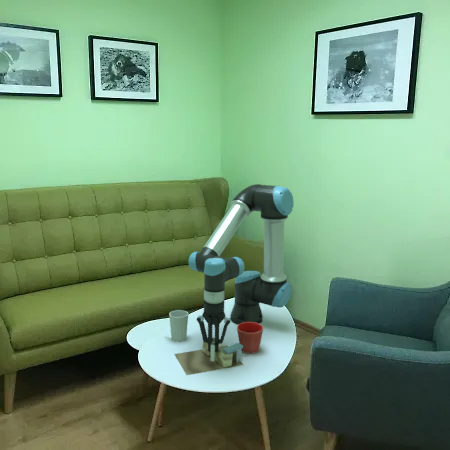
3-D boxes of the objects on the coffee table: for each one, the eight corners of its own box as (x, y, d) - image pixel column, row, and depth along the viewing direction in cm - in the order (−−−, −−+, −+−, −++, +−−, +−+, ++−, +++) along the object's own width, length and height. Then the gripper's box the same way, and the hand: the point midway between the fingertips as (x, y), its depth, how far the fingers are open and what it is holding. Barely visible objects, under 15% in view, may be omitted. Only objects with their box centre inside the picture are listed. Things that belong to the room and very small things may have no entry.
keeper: (221, 365, 175) (222, 348, 174) (236, 359, 180) (237, 342, 179) (227, 368, 173) (227, 351, 172) (242, 362, 178) (243, 345, 177)
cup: (185, 345, 193) (185, 318, 191) (166, 343, 195) (166, 316, 192) (190, 337, 201) (190, 311, 198) (172, 335, 202) (172, 309, 200)
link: (233, 365, 176) (234, 352, 175) (221, 367, 173) (223, 354, 172) (212, 349, 188) (214, 337, 187) (202, 350, 186) (203, 339, 185)
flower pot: (232, 352, 188) (233, 329, 186) (241, 341, 198) (242, 319, 196) (257, 357, 184) (258, 334, 182) (265, 345, 194) (266, 324, 192)
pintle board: (227, 347, 192) (227, 345, 192) (244, 367, 176) (244, 364, 176) (174, 356, 184) (174, 353, 184) (186, 377, 168) (186, 375, 168)
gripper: (194, 302, 170) (194, 362, 174) (230, 305, 167) (228, 366, 172) (199, 295, 177) (198, 353, 182) (233, 298, 175) (231, 356, 179)
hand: (213, 359), depth 177 cm, fingers closed
